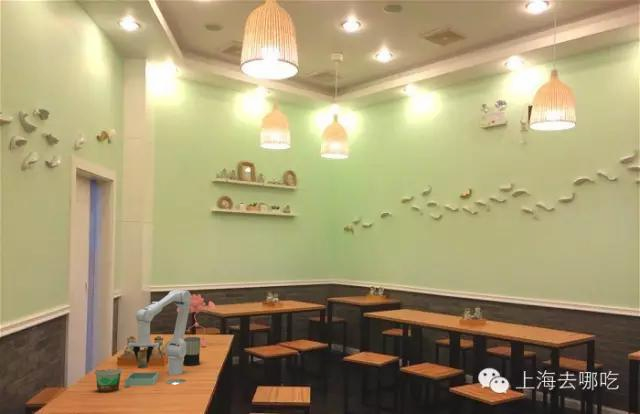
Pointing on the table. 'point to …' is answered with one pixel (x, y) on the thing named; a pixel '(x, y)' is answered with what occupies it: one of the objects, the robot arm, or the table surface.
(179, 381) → the steel base plate
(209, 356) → the table surface
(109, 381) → the food container
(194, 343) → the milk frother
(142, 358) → the brown wooden block
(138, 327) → the robot arm
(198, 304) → the pink flower branch
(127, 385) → the teal bin
